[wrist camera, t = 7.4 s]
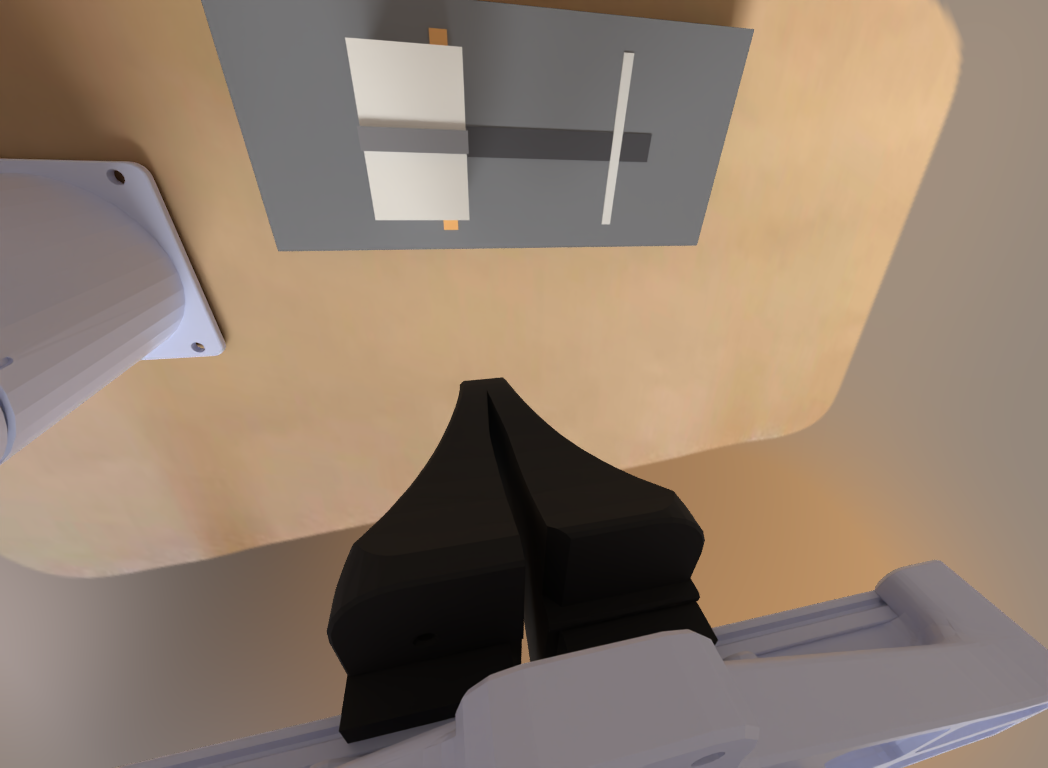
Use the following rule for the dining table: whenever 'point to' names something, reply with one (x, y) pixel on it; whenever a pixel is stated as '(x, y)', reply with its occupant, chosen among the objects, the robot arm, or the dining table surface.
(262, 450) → the dining table surface
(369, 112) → the block
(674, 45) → the console
